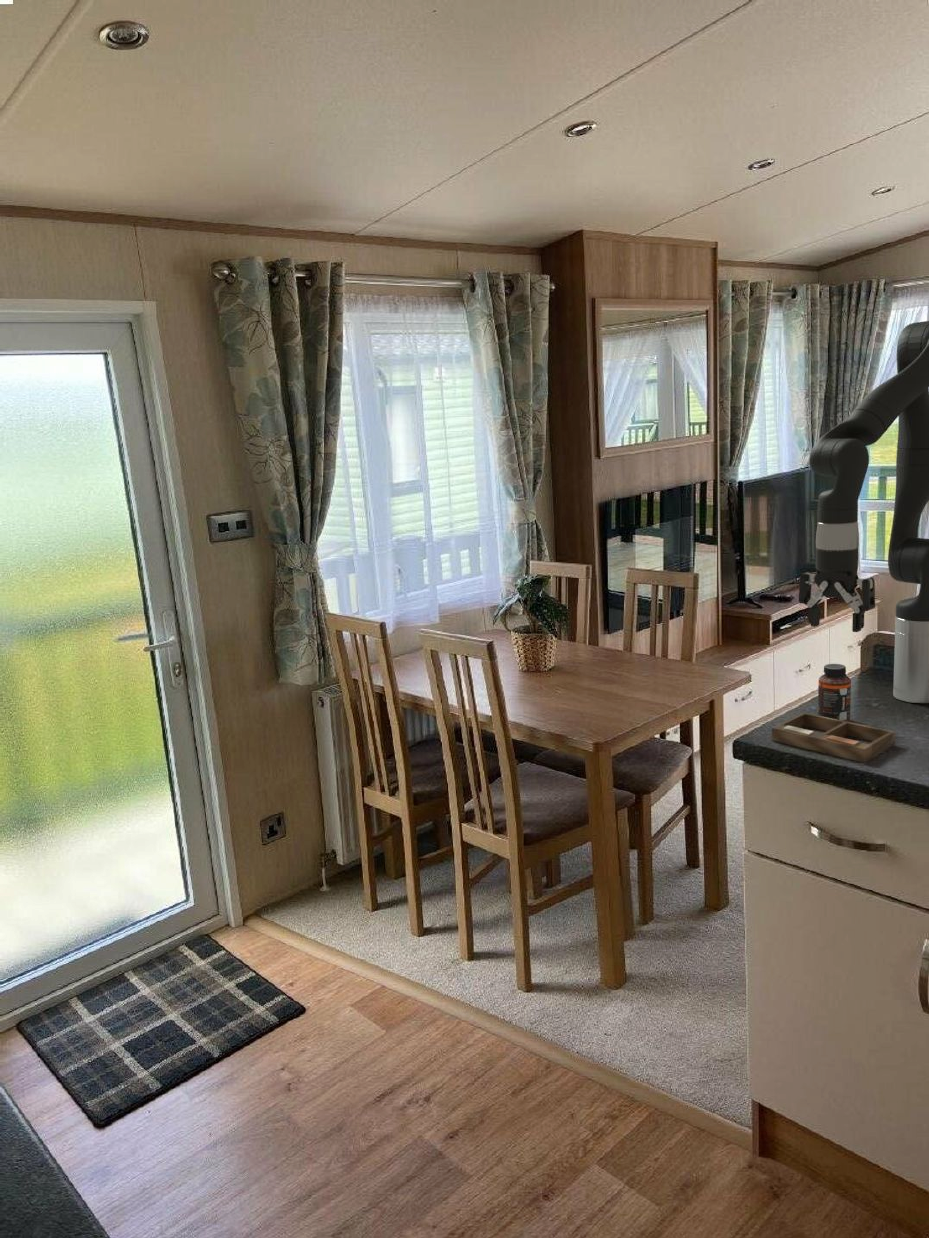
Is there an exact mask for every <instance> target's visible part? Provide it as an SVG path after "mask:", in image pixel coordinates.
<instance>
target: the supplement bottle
mask: <svg viewBox="0 0 929 1238" xmlns="http://www.w3.org/2000/svg"><path fill="white" fill-rule="evenodd" d="M823 673H824V674H822V675H821V676H820V677H819V678H818V683H817V684H818V687H817V689H818V691H817V692H818V693H817V695H818V696H817V702H818V703H817V705H818V706H817V715H819V716H823V717H828V718H833V719H838V720H842V721H847V722H851V706H852V705H851V698H852V697H851V693H852V692H851V691H852V680H851V678H850V677H849V676H848V675H847V674H846V673H847V667H846V665H845V664H840V663H828V664H825V665H823Z"/></svg>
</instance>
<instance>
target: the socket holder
mask: <svg viewBox="0 0 929 1238" xmlns="http://www.w3.org/2000/svg"><path fill="white" fill-rule="evenodd" d="M804 727H808V728H811V729H817V730H821V731H823V733H821V732H817V731H814V730H809V729H805V728H804ZM824 731H825V732H824ZM845 737H854V738H857V739H861V740H867V741H871V742H869V743H865V742H864V743H863V742H860V741H859V740H854V739H851V738H845ZM895 740H896V731H894V730H889V729H886V728H881V727H876V726H875V727H874V726H869V725H866V724H862V723H856V722H851V721H849V722H847V721H842V720H838V719H833V718H828V717H823V716H819V715H818V714H812V713H809V712H801V713H799V714H797V715H795V716H793V717H791V718H789V719H786V720H784V721H782V722H781V723H779V724H777V725H775V726H773V727H771V741H773V742H776V743H780V744H781V743H782V744H784V745H785V744H786V745H790V746H794V747H799V748H801V749H802V748H803V749H805V750H811V751H815V752H819V753H821V754H822V753H823V754H826V753H827V754H826V755H832V756H834V757H835V756H836V757H840V758H843V759H847V760H851V761H854V762H855V761H856V762H859V763H863V764H865V763H867V762H868V761H870V760H871V759H874V757H876V756H878V755H880V754H881V753H883V752H885V751H887V750H888V749H890V748H891V747H893V746H895V744H896V742H895Z"/></svg>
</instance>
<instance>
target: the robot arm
mask: <svg viewBox="0 0 929 1238" xmlns="http://www.w3.org/2000/svg"><path fill="white" fill-rule="evenodd" d="M896 346H897V347H896V371H897V372H896V373H897V374H895V375H893V376H892V377H891V378H888V379H887V380H886V381H884V382H882V383H881V384H879V385H878V386H876V387H875V388H874V389H872V391H870V392H869V393H867V395H866V396H865V397H864V398H863V399H862V400H861V402H859V404H858V405H857V406H856V407H855V408H854V409H853V411H852V412H851V413H850V414H849V416H848V417H847V418H846V419H843V420H842V421H841V422H840V423H838V424H837V425H836V426H834V427H833V428H831V429H830V430H829V431H827V432H826V433H824V434H823V435H822V436H821V437H820V438H819V439H818V440H817V442H815V444H814V445H813V447H812V449H811V451H810V453H809V460H808V461H809V466H810V468H811V470H812V471H813V473H815V474H816V475H819V476H822V477H831V478H832V477H835V478H837V479H836V482H835V484H834V486H833V488H832V489H827V490H824V491H822V492H820V494H819V495H818V500H817V527H816V533H815V534H816V535H815V569H816V570H815V571H816V572H815V573H812V572H811V571H807V572H803V573H802V574H800V575H799V586H798V587H799V589H798V602H799V604H801V605H802V604H803V605H805V606H807V609H808V612H807V613H808V616H807V617H808V623H809V624H810V627H813V628H814V627H818V626H819V625H820V623H821V622H820V621H821V620H820V614H821V611H820V610H821V607H820V606H819V604H820V603H821V602H823V599H825V598H826V599H833V598H834V599H837V600H844V601H845V603H846V604H848V605H849V607H850V608H851V609H852V611H853V613H852V627H851V629H852V630H851V632H852V633H860V632H861V631H862V629H864V627H865V613H866V612H869V611H871V610H873V609H875V607H876V592H875V591H876V590H875V588H876V587H875V583H876V582H875V578H874V577H868V578H859V576H858V575H859V574H858V568H859V543H860V542H859V539H860V538H859V536H860V535H859V534H860V533H859V522H858V520H859V499H860V495H861V492H862V488H863V485H864V482H865V479H866V475H867V472H868V469H869V465H870V464H869V463H870V454H869V451H868V446H871V445H873V444H875V443H877V442H878V441H879V440H880V439H881V437H882V436H884V434H885V433H886V431H888V430H889V428H890V427H891V426H892V425H893V423H894V422H895V421H896V419H898V425H897V426H898V427H897V428H898V430H897V431H898V432H897V442H896V443H897V445H896V457H895V458H896V460H895V461H896V462H895V471H896V472H895V491H894V492H895V494H894V496H895V497H894V509H893V517H892V525H891V531H890V537H889V544H888V553H887V554H888V555H887V566H888V568H887V569H888V572H889V574H890V577H891V578H892V579H893V580H894V581H896V582H901V583H908V584H909V583H910V584H916V585H920V586H919V591H918V595H916V596H915V597H909V598H906V599H901V600H899V601H897V603H896V605H895V616H894V617H895V621H894V622H895V625H894V626H895V627H894V656H893V657H894V659H893V687H892V688H893V691H892V692H893V694H892V695H893V697H894V698H895V699H897V700H899V701H903V702H907V703H913V704H914V703H915V704H917V703H918V704H929V538H922V537H919V528H920V527H919V526H920V521H921V516H922V514H923V511H924V509H925V507H926V505H927V504H928V502H929V320H926V321H919V322H916V321H915V322H913V323H912V322H911V323H909V324H908V325H906V326H905V327H903V329H902V330H901V332H900V334H899V336H898V339H897V343H896ZM813 584H816V586H817V587H818V588H817V589H816V590H815V591H814V593H813V594H812V587H813V586H812V585H813ZM858 586H859V589H860V590H861V595H862V596H861V595H860V594H859V592H858V590H856V588H857V587H858ZM861 597H862V599H861Z"/></svg>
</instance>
